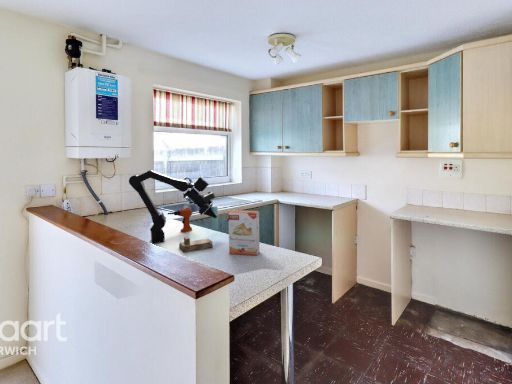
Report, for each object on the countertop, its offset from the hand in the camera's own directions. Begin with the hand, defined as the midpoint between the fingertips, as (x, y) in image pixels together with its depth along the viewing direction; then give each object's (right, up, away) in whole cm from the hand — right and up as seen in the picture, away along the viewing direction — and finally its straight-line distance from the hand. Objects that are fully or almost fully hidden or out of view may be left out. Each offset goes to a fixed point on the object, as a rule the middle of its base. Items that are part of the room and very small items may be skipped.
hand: (216, 216), depth 182 cm
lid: (-9, -12, -15) cm, 21 cm away
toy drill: (-24, -11, +16) cm, 31 cm away
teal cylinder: (-1, -7, +1) cm, 7 cm away
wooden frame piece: (-9, -15, -14) cm, 23 cm away
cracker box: (+16, -16, -24) cm, 33 cm away
